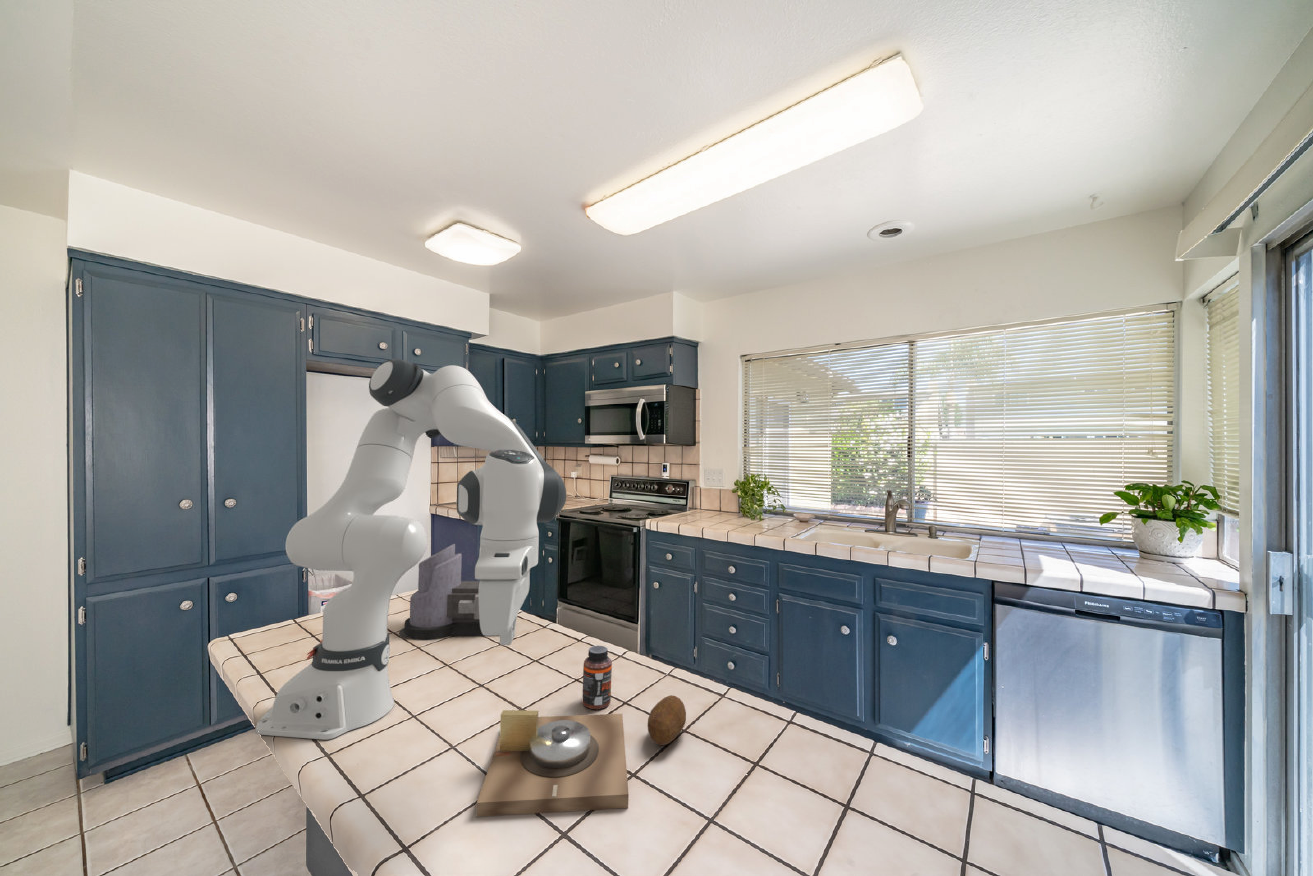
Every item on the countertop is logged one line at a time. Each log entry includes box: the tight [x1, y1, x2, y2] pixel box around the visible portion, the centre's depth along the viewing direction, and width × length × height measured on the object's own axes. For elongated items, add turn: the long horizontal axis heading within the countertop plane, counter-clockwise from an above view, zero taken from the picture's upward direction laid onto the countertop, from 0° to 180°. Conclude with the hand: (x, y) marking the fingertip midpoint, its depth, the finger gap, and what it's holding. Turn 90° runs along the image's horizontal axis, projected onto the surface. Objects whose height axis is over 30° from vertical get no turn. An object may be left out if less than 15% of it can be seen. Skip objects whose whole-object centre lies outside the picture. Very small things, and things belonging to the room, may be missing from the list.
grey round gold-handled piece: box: [499, 709, 590, 768], centre depth 83 cm, size 15×10×6 cm, turn 91°
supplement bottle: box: [581, 645, 613, 710], centre depth 103 cm, size 6×6×11 cm
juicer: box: [398, 543, 489, 641], centre depth 141 cm, size 30×16×24 cm, turn 95°
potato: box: [647, 695, 687, 746], centre depth 91 cm, size 7×12×7 cm, turn 165°
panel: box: [475, 713, 630, 818], centre depth 83 cm, size 22×22×2 cm
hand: (507, 641), depth 77 cm, fingers closed
